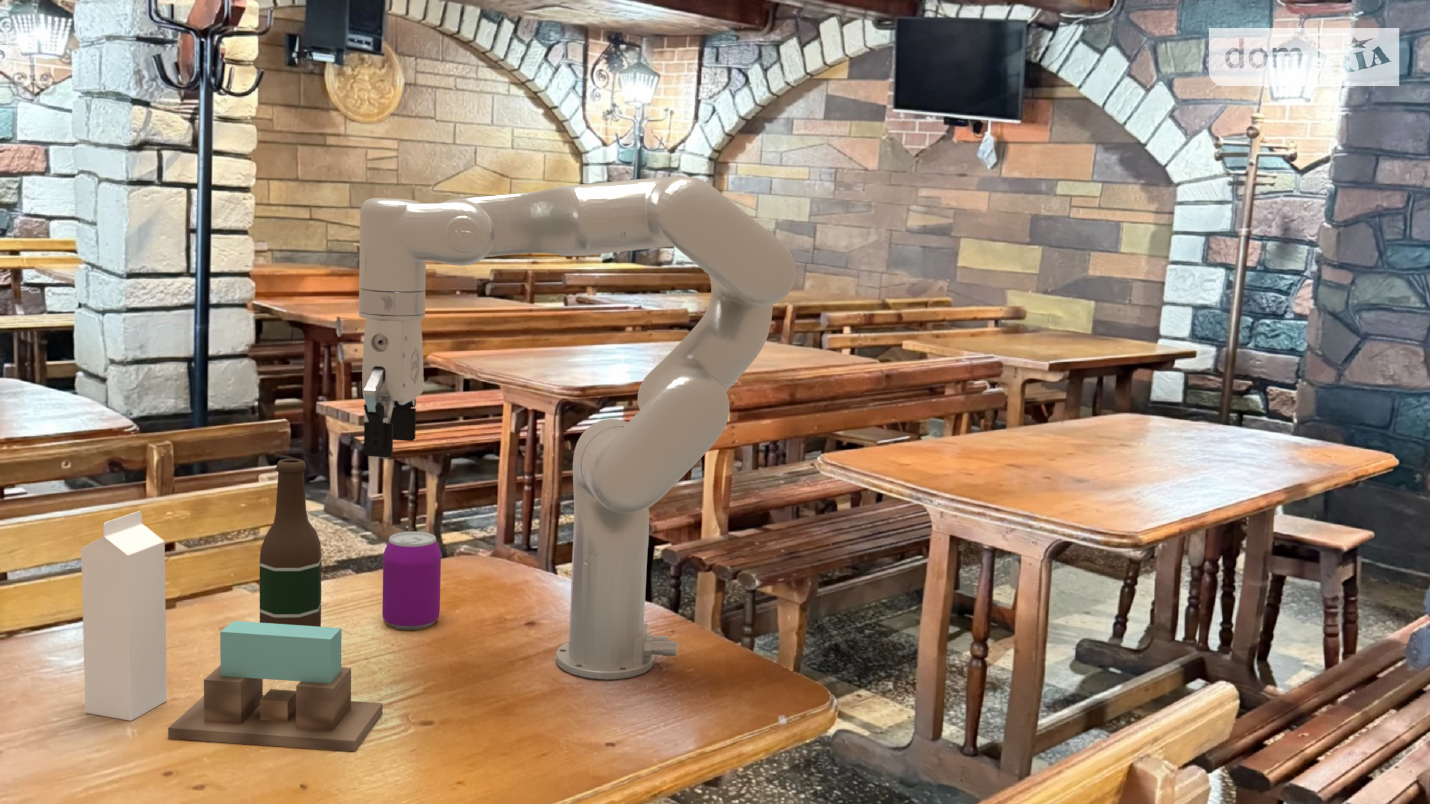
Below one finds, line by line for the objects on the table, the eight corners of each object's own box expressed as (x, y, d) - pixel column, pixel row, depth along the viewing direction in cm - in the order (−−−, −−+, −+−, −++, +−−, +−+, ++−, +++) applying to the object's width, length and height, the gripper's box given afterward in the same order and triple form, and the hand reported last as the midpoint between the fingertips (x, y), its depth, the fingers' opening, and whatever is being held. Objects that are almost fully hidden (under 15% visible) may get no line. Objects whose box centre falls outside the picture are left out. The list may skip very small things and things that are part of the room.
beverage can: (414, 608, 178) (415, 526, 176) (451, 622, 173) (453, 538, 171) (370, 622, 172) (371, 537, 170) (407, 636, 167) (409, 549, 165)
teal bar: (341, 671, 139) (341, 628, 138) (330, 683, 135) (330, 639, 134) (233, 663, 139) (233, 620, 138) (220, 675, 136) (220, 631, 135)
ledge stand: (382, 713, 143) (383, 663, 142) (354, 751, 133) (355, 697, 132) (208, 701, 143) (208, 651, 142) (168, 738, 133) (167, 685, 132)
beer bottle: (302, 655, 158) (303, 469, 154) (246, 647, 160) (245, 463, 156) (333, 634, 166) (334, 457, 162) (279, 627, 167) (279, 451, 164)
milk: (84, 713, 138) (77, 520, 135) (123, 693, 144) (117, 507, 141) (132, 721, 137) (126, 526, 133) (169, 700, 143) (164, 512, 139)
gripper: (403, 313, 139) (401, 465, 141) (442, 300, 156) (439, 436, 158) (336, 309, 139) (335, 461, 142) (382, 297, 156) (380, 432, 159)
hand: (390, 447), depth 150 cm, fingers open, 9 cm apart
